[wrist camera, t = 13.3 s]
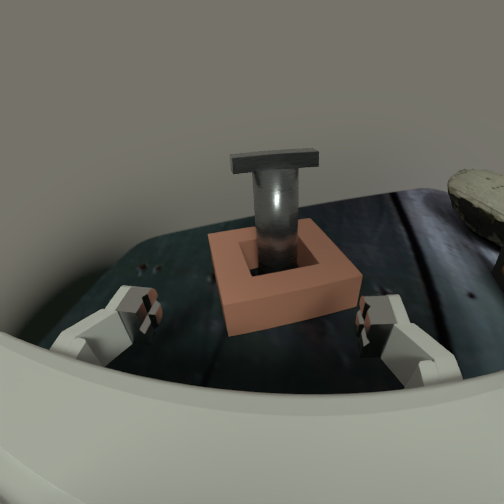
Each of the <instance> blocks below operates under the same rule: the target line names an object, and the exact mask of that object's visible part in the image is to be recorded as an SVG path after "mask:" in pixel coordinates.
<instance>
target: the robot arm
mask: <svg viewBox="0 0 504 504" xmlns="http://www.w3.org/2000/svg"><path fill="white" fill-rule="evenodd" d="M157 297H158V296H157V293H156V290H155V289H153V288H145V287H135V286H133V287H132V286H121V287H120V288H119V290H118V291H117V293H116V294H115V295H114V297H113V298H112V300H111V301H110V302H109V304H108V305H107V307H106V308H105V309H101V310H99V311H97V312H96V313H94V314H92V315H90V316H89V317H87V318H85V319H84V320H82V321H80V322H78V323H77V324H75V325H73V326H71V327H70V328H68V329H66V330H65V331H63V332H61V334H60V335H59V337H58V338H57V339H56V341H55V342H54V344H53V345H52V347H51V348H50V350H47V349H44V348H41V347H38V346H36V345H33V344H30V343H28V342H25V341H23V340H20V339H18V338H15V337H13V336H11V335H8V334H7V333H4V332H0V504H504V370H502V371H498V372H494V373H491V374H487V375H483V376H478V377H474V378H470V379H465V380H463V378H462V375H461V372H460V370H459V367H458V364H457V362H456V359H455V356H454V355H453V354H451V353H450V352H449V351H448V350H446V349H445V348H444V347H443V346H442V345H440V344H439V343H438V342H437V341H435V340H434V339H433V338H432V337H430V336H429V335H428V334H427V333H425V332H424V331H423V330H422V329H420V328H419V327H418V326H417V325H415V324H414V323H410V321H409V318H408V316H407V313H406V310H405V308H404V305H403V303H402V300H401V298H400V296H399V295H398V294H396V295H368V296H361V298H360V303H359V305H360V310H359V311H358V312H357V316H356V324H355V327H356V336H357V337H358V338H360V339H359V343H358V347H359V353H360V358H374V357H381V359H382V360H383V362H384V363H385V364H386V365H387V366H388V367H389V369H390V370H391V371H392V372H393V373H394V375H395V376H396V377H397V378H398V379H399V381H400V382H401V383H402V384H403V385H404V387H405V388H404V389H402V390H393V391H382V392H369V393H351V394H277V393H259V392H246V391H235V390H225V389H216V388H208V387H201V386H193V385H187V384H181V383H175V382H169V381H163V380H158V379H153V378H148V377H143V376H138V375H134V374H129V373H125V372H121V371H117V370H113V369H109V368H105V366H106V365H107V364H108V363H110V362H111V361H112V360H113V359H115V358H116V357H117V356H118V355H119V354H121V353H122V352H123V351H124V350H125V349H127V348H128V347H129V346H130V345H131V344H132V343H138V344H145V345H150V343H151V341H152V339H153V337H154V335H155V331H154V329H155V328H157V327H158V326H159V325H160V323H161V320H162V308H161V305H160V304H159V303H158V302H157V301H156V298H157Z"/></svg>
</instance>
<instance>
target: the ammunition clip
mask: <svg viewBox="0 0 504 504" xmlns="http://www.w3.org/2000/svg"><path fill="white" fill-rule="evenodd" d="M492 275H493V276H494V278H495V279H496V281H497V282H498V284H499V286H500V287H501V289H502V291H503V292H504V243H503V246H502V248H501V251H500V254H499V256H498V259H497V261H496V264H495V266H494V269H493V271H492Z"/></svg>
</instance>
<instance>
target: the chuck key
mask: <svg viewBox="0 0 504 504" xmlns="http://www.w3.org/2000/svg"><path fill="white" fill-rule="evenodd" d="M230 165H231V171H232V173H233V174H239V173H248V172H252V176H253V193H254V210H255V227H256V244H257V262H258V276H259V275H265V274H270V273H275V272H280V271H286V270H291V269H296V268H297V248H298V168H303V167H318V166H319V152H318V151H317V150H315V149H313V148H306V149H288V150H273V151H260V152H250V153H240V154H230Z"/></svg>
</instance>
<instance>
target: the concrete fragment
mask: <svg viewBox="0 0 504 504" xmlns="http://www.w3.org/2000/svg"><path fill="white" fill-rule="evenodd" d="M448 194H449V196H450V199H451V203H452V207H453V209H454V211H455V212H456V213H457V214H458V215H459V217H460V218H461V220H462V221H463V222H465V223H466V225H467V226H468V227H469V228H470V229H471V230H472V231H474V232H475V233H477V234H479V235H480V236H482V237H484V238H487V240H490V241H493V242H494V243H495V244H497V245H498V246H500V247H502V246H503V243H504V177H503V175H501V174H498V173H495V172H492V171H488V170H475V169H472V170H466V169H463V170H460V171H458V172H457V173H456V174H454V175H453V176H451V177H450V179H449V181H448Z"/></svg>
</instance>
